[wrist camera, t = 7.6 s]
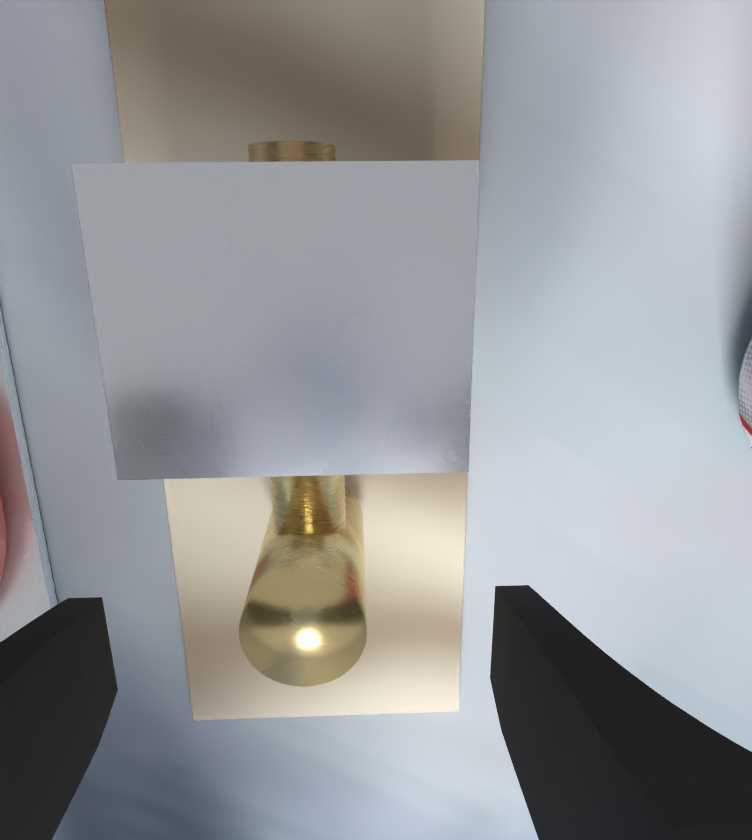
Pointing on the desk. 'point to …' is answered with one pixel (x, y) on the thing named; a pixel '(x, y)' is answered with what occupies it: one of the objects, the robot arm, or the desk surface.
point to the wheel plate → (19, 516)
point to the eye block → (283, 314)
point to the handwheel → (2, 539)
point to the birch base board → (355, 141)
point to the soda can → (746, 393)
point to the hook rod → (306, 552)
